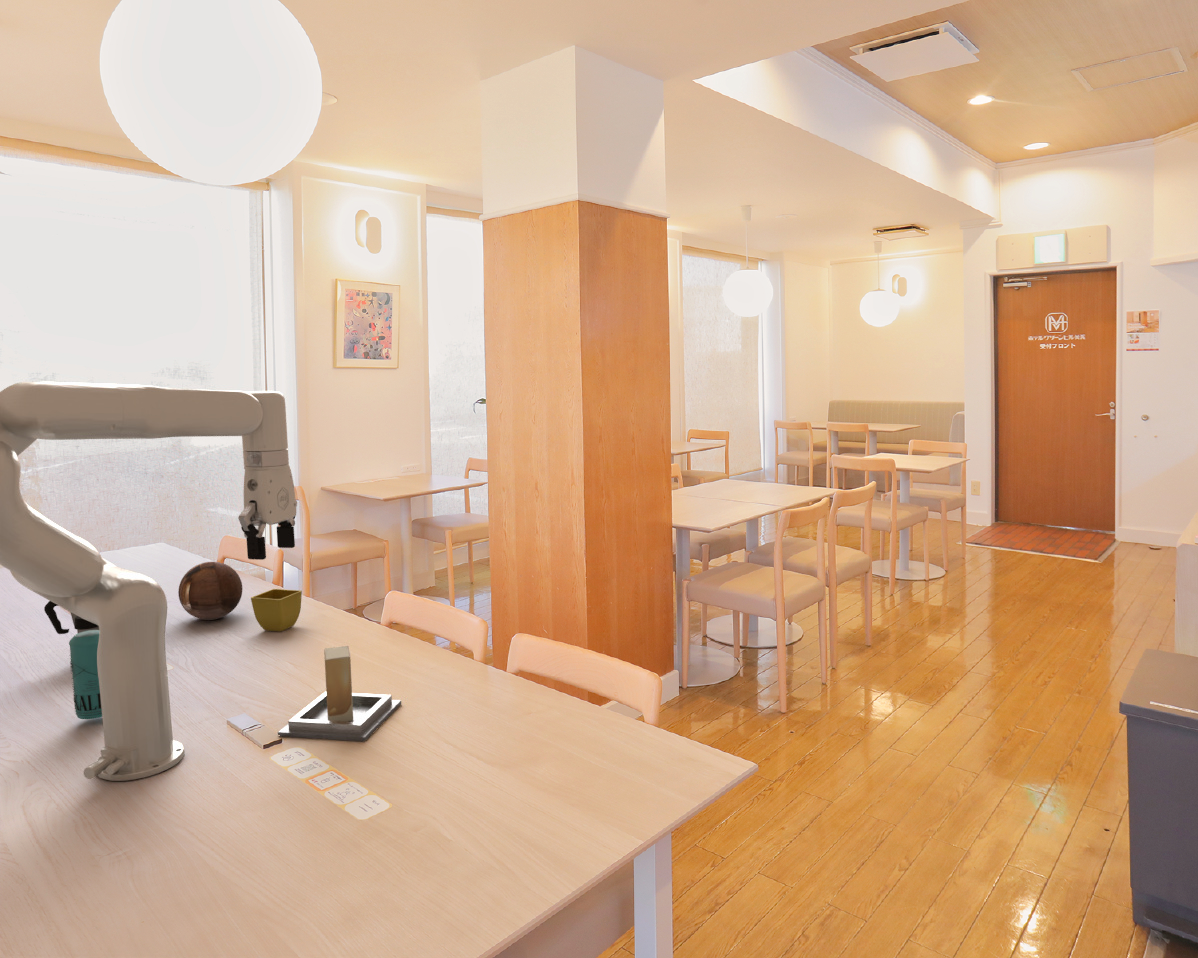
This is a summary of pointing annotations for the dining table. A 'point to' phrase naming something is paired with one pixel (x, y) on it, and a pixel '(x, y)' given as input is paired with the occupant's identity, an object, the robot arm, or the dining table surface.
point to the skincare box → (338, 683)
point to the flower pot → (277, 609)
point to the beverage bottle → (85, 670)
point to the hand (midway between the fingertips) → (272, 553)
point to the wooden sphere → (210, 590)
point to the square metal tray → (365, 721)
